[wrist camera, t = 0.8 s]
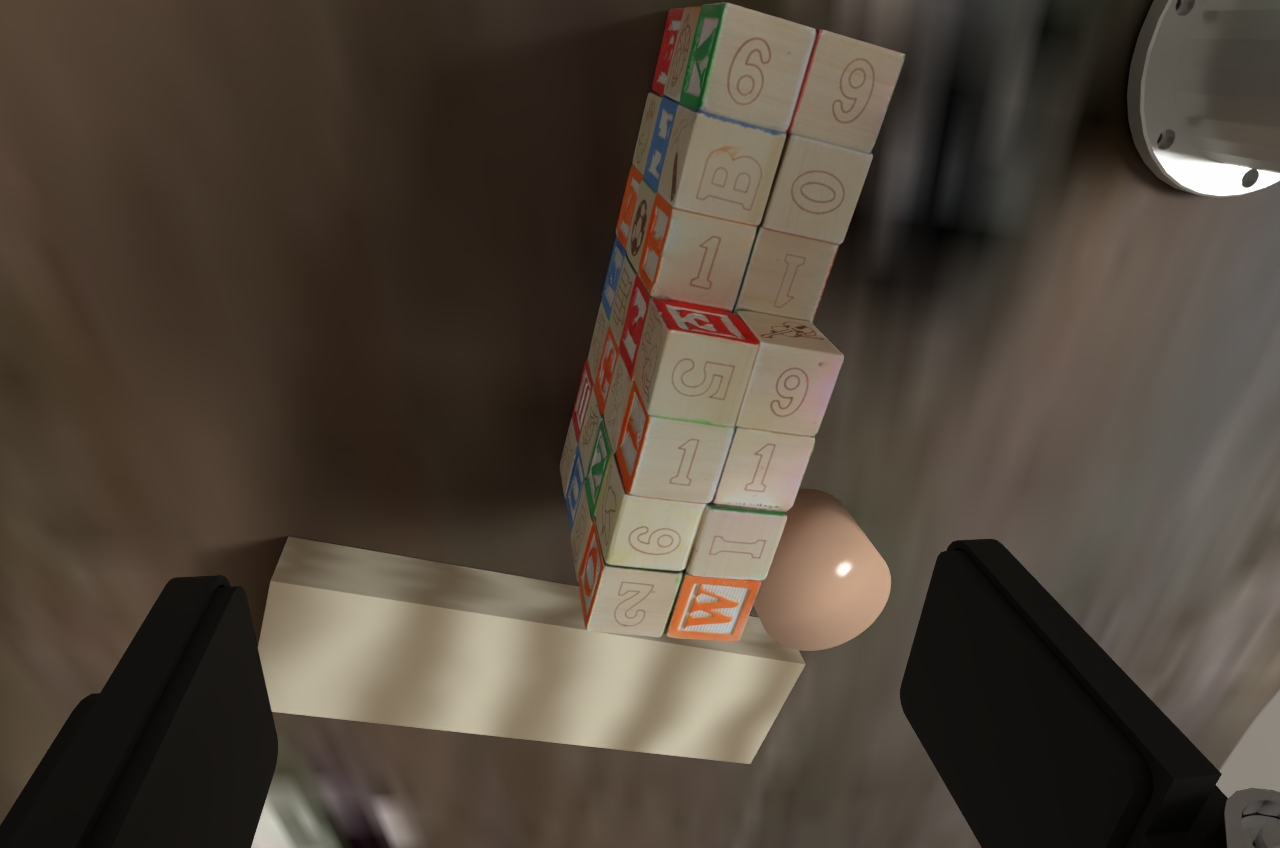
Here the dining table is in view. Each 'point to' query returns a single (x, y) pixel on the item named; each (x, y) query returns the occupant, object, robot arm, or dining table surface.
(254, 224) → the dining table surface
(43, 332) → the dining table surface
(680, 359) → the stack of blocks
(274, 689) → the board
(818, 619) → the tan rounded lump
